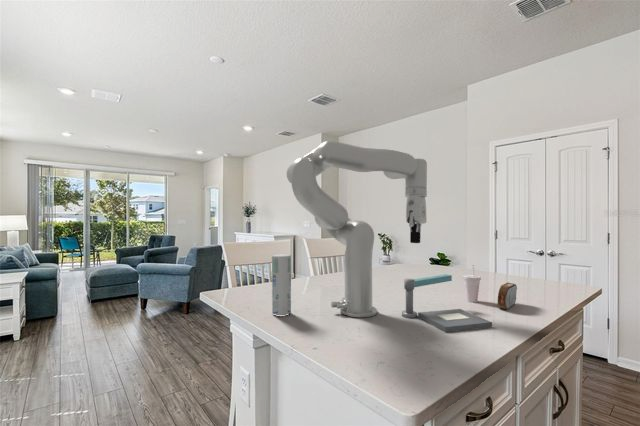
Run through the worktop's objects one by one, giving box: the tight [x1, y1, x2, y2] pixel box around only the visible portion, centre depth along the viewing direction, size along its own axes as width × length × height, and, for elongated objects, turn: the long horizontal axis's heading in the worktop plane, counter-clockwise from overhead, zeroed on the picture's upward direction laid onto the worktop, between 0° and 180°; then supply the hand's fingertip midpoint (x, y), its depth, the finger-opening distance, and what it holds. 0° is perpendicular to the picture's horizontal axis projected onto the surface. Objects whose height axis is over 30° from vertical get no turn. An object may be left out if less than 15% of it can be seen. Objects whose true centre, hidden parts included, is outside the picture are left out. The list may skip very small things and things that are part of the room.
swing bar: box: [403, 273, 453, 291], centre depth 109 cm, size 23×3×3 cm, turn 122°
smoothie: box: [462, 264, 482, 303], centre depth 122 cm, size 6×6×14 cm
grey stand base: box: [401, 289, 493, 333], centre depth 100 cm, size 20×18×9 cm
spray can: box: [271, 253, 292, 315], centre depth 107 cm, size 6×6×20 cm
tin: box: [497, 282, 518, 310], centre depth 114 cm, size 15×3×8 cm, turn 134°
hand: (415, 242), depth 115 cm, fingers closed
